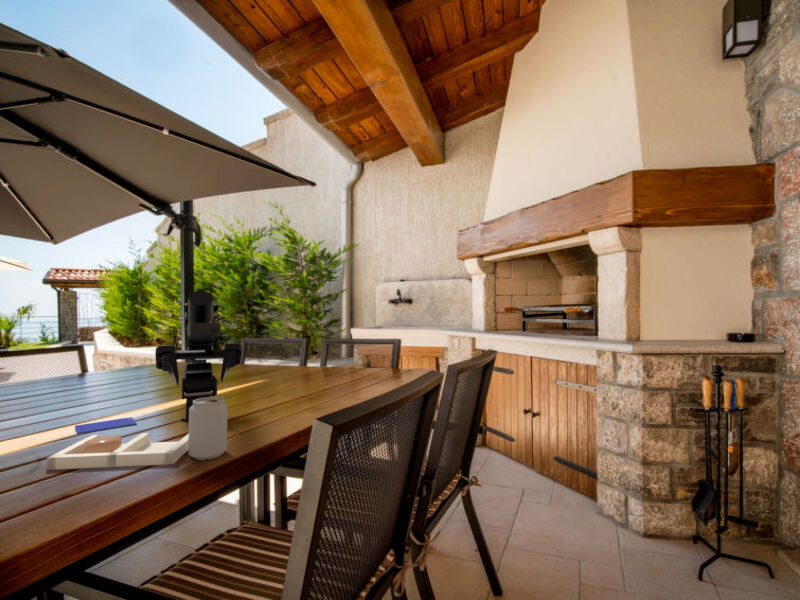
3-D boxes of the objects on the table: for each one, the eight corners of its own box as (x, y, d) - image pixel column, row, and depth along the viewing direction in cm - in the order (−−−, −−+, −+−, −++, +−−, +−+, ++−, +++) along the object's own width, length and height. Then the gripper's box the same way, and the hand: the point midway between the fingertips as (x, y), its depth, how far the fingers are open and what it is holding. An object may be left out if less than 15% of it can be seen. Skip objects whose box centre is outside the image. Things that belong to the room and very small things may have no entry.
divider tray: (91, 447, 91) (91, 435, 91) (197, 442, 94) (197, 431, 94) (46, 472, 77) (47, 457, 77) (173, 466, 80) (173, 452, 80)
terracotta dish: (102, 448, 88) (102, 435, 88) (128, 450, 87) (128, 436, 87) (75, 459, 82) (75, 444, 82) (103, 461, 81) (103, 446, 81)
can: (233, 449, 90) (234, 395, 90) (214, 462, 82) (215, 403, 83) (201, 448, 90) (202, 394, 91) (180, 460, 83) (181, 402, 83)
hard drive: (131, 416, 112) (74, 424, 104) (136, 422, 106) (77, 432, 98) (131, 422, 112) (74, 430, 104) (136, 428, 106) (76, 438, 98)
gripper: (157, 311, 95) (151, 361, 84) (241, 311, 103) (246, 357, 93) (158, 344, 101) (153, 394, 90) (238, 341, 110) (242, 387, 99)
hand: (200, 382), depth 93 cm, fingers open, 9 cm apart
